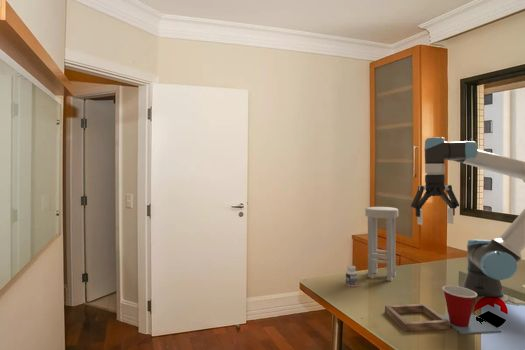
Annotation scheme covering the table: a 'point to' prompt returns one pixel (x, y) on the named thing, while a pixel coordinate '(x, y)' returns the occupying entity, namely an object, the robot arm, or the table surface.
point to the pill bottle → (351, 276)
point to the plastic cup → (459, 304)
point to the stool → (372, 240)
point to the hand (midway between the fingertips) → (435, 223)
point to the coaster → (474, 326)
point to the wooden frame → (418, 325)
